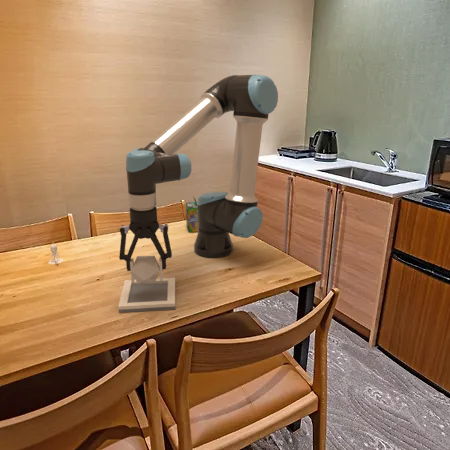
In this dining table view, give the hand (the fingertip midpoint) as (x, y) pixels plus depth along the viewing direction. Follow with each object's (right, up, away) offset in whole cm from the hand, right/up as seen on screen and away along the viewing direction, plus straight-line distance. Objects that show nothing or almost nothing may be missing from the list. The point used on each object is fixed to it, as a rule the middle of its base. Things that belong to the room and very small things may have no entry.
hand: (147, 279), depth 117 cm
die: (0, -1, 0) cm, 1 cm away
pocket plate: (0, -6, +2) cm, 6 cm away
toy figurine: (-38, +2, +25) cm, 46 cm away
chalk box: (+11, +14, +59) cm, 62 cm away
